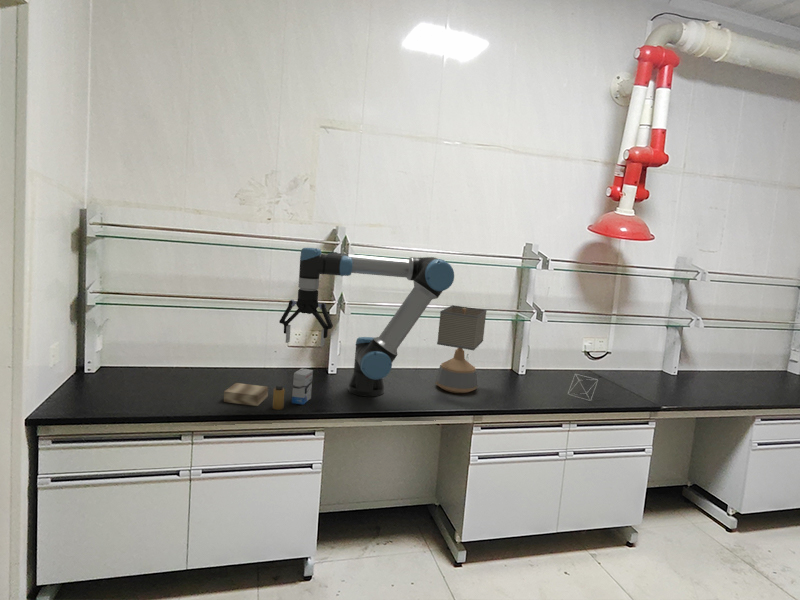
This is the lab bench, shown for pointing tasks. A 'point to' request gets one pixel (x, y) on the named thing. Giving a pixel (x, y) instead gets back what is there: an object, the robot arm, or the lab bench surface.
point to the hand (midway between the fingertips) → (304, 344)
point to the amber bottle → (278, 397)
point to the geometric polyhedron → (582, 386)
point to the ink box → (302, 386)
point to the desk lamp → (459, 346)
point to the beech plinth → (246, 394)
